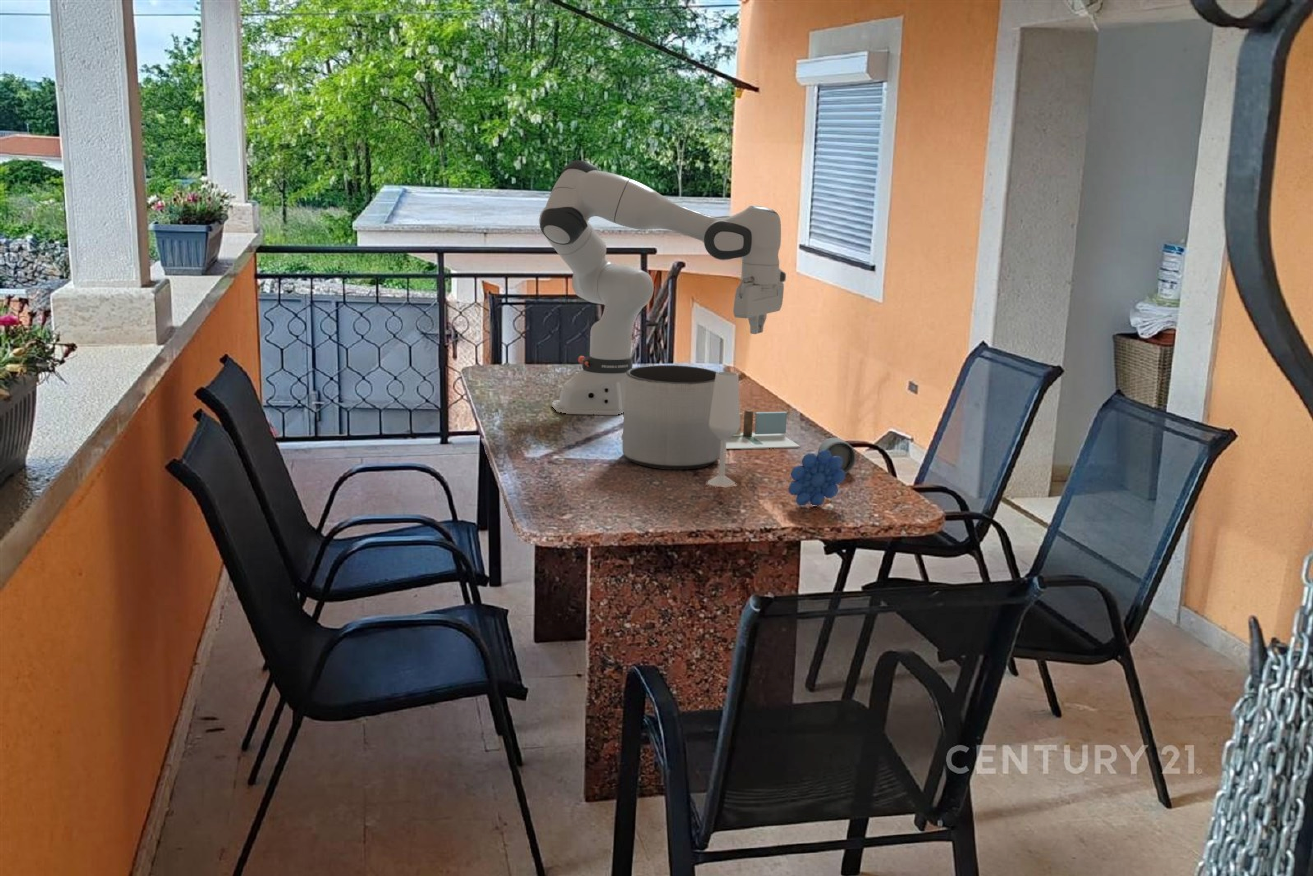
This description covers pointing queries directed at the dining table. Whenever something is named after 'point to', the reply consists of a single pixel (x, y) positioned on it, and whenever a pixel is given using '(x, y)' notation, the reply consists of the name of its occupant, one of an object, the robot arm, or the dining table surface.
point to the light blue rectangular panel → (770, 422)
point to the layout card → (760, 442)
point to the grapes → (816, 478)
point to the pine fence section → (746, 423)
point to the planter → (669, 417)
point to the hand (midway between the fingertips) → (756, 333)
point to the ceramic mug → (840, 452)
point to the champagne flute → (724, 417)
